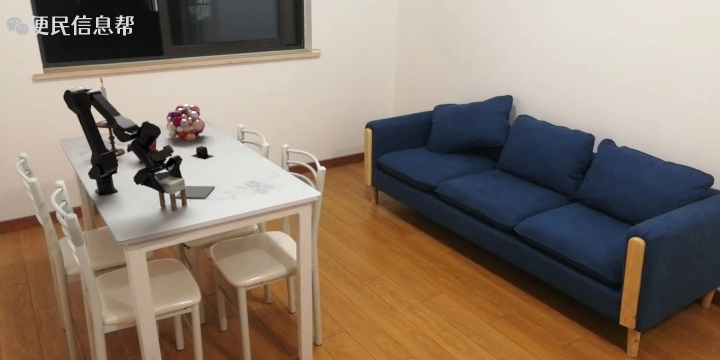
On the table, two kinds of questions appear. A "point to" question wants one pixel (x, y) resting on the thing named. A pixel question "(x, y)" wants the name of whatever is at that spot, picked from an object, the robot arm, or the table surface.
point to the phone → (162, 175)
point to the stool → (172, 191)
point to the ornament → (185, 122)
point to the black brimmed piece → (202, 153)
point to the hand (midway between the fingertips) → (174, 188)
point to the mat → (197, 191)
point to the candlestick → (109, 127)
